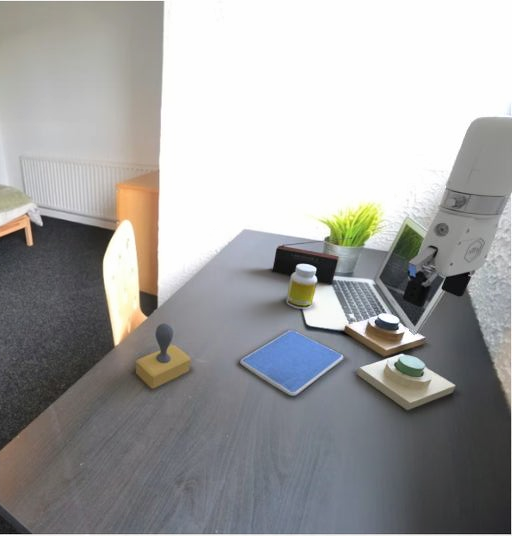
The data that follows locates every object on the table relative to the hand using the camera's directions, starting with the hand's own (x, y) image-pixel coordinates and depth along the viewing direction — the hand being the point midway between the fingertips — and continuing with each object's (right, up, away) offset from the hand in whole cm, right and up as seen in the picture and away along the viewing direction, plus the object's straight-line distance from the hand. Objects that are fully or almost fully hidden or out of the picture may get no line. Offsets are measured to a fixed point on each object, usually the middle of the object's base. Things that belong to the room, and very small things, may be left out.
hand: (432, 297), depth 65 cm
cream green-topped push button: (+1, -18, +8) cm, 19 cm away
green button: (+1, -14, +6) cm, 16 cm away
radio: (+3, +2, +49) cm, 49 cm away
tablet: (-18, -15, +15) cm, 27 cm away
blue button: (+6, -8, +19) cm, 22 cm away
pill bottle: (-6, -5, +36) cm, 36 cm away
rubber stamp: (-45, -17, +13) cm, 50 cm away
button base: (+6, -11, +21) cm, 25 cm away
